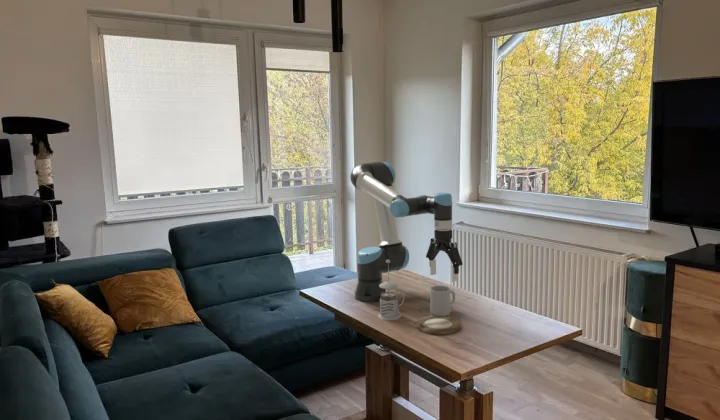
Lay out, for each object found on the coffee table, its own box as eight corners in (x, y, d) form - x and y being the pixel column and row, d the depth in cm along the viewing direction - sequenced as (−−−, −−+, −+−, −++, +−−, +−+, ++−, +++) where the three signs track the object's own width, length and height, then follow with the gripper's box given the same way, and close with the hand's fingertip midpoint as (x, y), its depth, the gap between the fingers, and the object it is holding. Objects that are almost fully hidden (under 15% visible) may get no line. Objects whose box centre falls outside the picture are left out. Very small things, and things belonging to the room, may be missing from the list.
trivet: (407, 324, 214) (406, 318, 214) (439, 315, 224) (439, 309, 224) (436, 338, 199) (436, 332, 199) (470, 327, 209) (470, 321, 209)
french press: (381, 311, 231) (380, 256, 227) (407, 313, 227) (406, 257, 223) (374, 318, 222) (373, 261, 218) (401, 321, 218) (400, 263, 214)
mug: (437, 317, 221) (437, 292, 220) (426, 311, 229) (426, 287, 227) (460, 312, 227) (460, 288, 225) (448, 306, 234) (448, 283, 233)
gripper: (417, 226, 230) (418, 273, 233) (457, 234, 210) (458, 285, 213) (430, 224, 234) (431, 270, 238) (471, 232, 214) (471, 282, 217)
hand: (443, 277), depth 225 cm, fingers open, 13 cm apart
